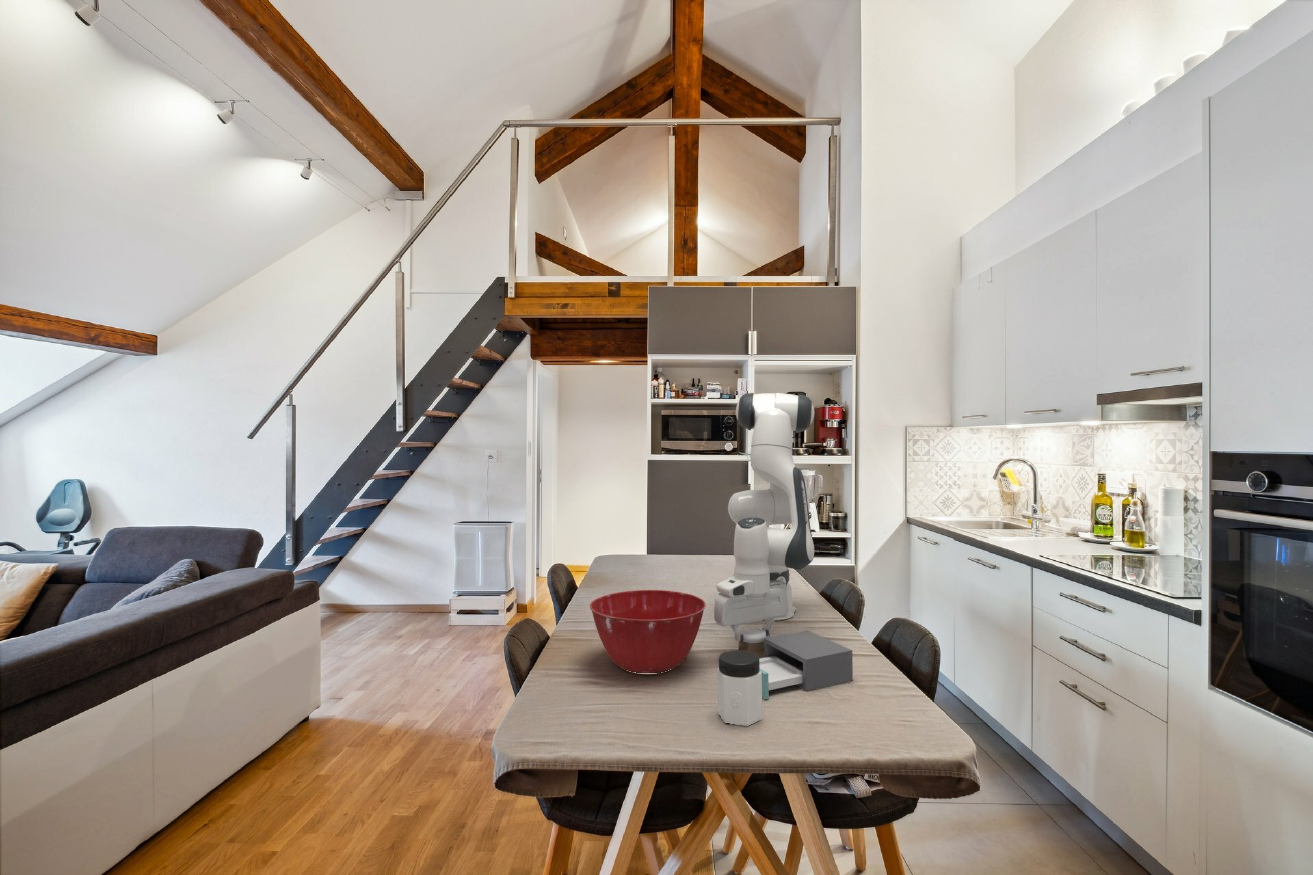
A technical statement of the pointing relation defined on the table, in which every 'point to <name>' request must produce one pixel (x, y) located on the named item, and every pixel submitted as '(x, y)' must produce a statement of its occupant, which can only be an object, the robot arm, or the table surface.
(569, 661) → the table surface
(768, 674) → the tray
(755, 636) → the disc
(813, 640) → the grey drawer box
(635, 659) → the mixing bowl
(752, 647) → the walnut block
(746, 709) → the jar
